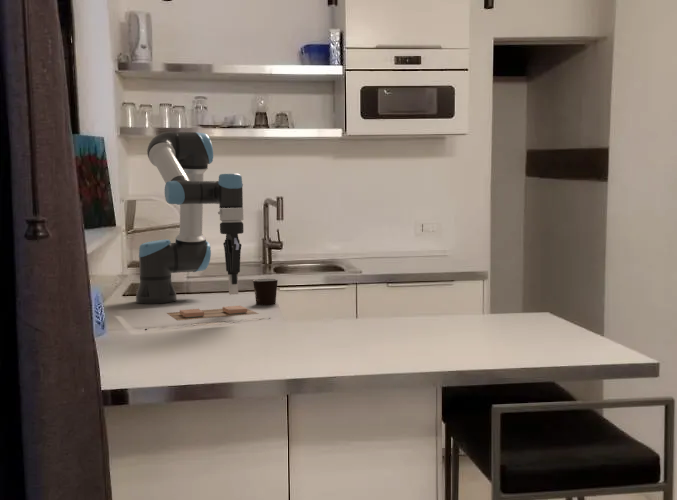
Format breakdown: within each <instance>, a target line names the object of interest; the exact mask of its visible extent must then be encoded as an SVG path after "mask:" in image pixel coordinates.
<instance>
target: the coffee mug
mask: <svg viewBox="0 0 677 500" xmlns="http://www.w3.org/2000/svg"><path fill="white" fill-rule="evenodd" d="M252 283H253V291H254V297H255V298H254V299H255V305H257V306H272V305H276V304H277V294H278V293H277V291H278V278H256V279H253V280H252Z"/></svg>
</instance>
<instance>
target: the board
mask: <svg viewBox="0 0 677 500" xmlns="http://www.w3.org/2000/svg"><path fill="white" fill-rule="evenodd" d="M200 310H201V311H203V312H204V316H203V317H192V318H185V317H184V316H182V315H181V314H180V311H177V312H175V311H174V312H166V314H168V315H169V316H170V317H172V319H174V320H176V321H186V320H188V321H189V320H199V319H211V318H212V319H213V318H220V317H222V318H223V317H237V316H246V315H247V316H248V315H258V314H259V313H258V312H256V311H254V310H251V309H249V308H247V312H246V313H241V314H228V313H226V312H224V311H223V308H213V309H212V308H211V309H200ZM253 319H257V318H253ZM241 320H244V319H241ZM230 321H233V319H231V320H230ZM218 322H222V320H221V321H218ZM207 323H210V322H206V324H207ZM195 324H196V325H197V324H198V322H197V323H195ZM183 325H186V323H184V324H183Z"/></svg>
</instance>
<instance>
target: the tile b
mask: <svg viewBox="0 0 677 500" xmlns="http://www.w3.org/2000/svg"><path fill="white" fill-rule="evenodd" d="M221 309H223V311H224V312H226V313H228V314H241V313H246V312H247V309H248V308H247V307H244V306H242V305H231V306H222V308H221Z"/></svg>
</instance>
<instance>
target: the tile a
mask: <svg viewBox="0 0 677 500" xmlns="http://www.w3.org/2000/svg"><path fill="white" fill-rule="evenodd" d="M201 310H202V309H199V308H192V309H179V312H180V314H181V315H182V316H184V317H185V318H192V317H203V316H204V312H203V311H201Z"/></svg>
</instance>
